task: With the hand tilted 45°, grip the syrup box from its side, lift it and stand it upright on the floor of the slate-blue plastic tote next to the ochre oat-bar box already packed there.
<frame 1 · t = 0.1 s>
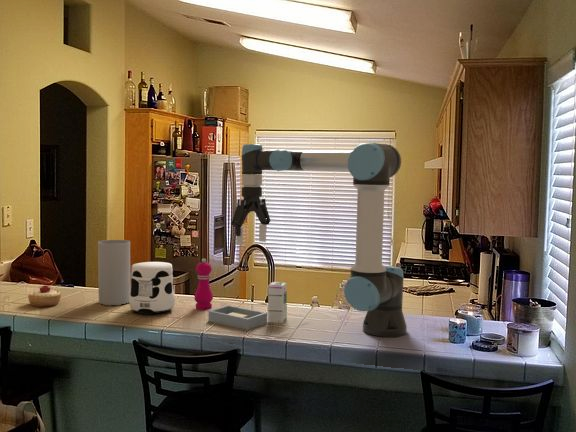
hand: (251, 243, 219), 28 cm above the table, tool pointing down, fingers open, 13 cm apart
pastry: (45, 305, 235), on the table
syrup box: (277, 323, 214), on the table
milk container: (152, 311, 228), on the table
tote: (237, 324, 211), on the table
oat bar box: (236, 321, 211), point 1 cm above the table, touching tote
pepper mill: (203, 308, 233), on the table
cylinder vase: (114, 303, 240), on the table
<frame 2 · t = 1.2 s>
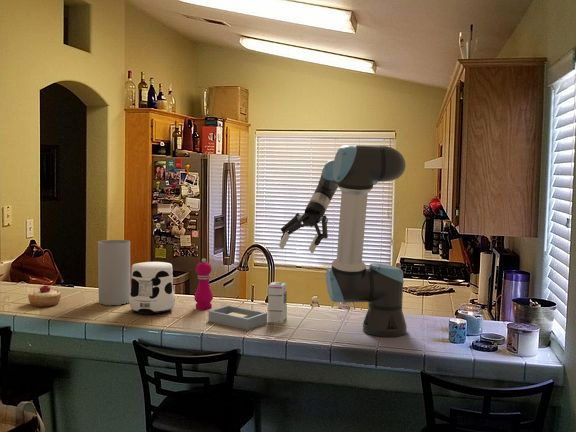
hand: (295, 249, 221), 26 cm above the table, tool tilted 45°, fingers open, 13 cm apart
nothing on the table moved.
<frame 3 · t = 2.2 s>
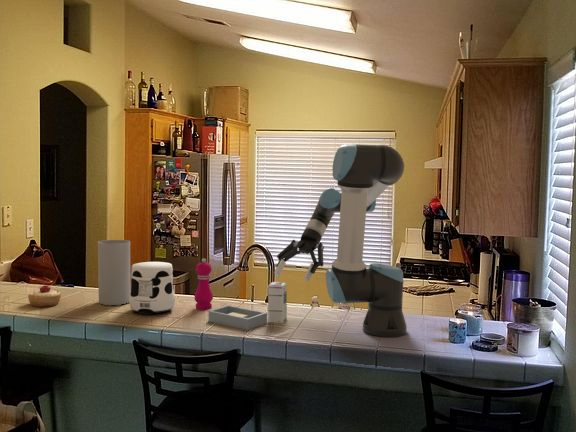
hand: (291, 277, 221), 15 cm above the table, tool tilted 45°, fingers open, 13 cm apart
nothing on the table moved.
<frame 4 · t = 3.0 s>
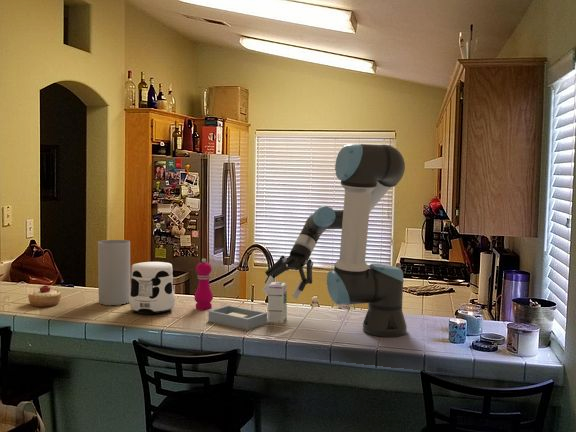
hand: (279, 294, 216), 10 cm above the table, tool tilted 45°, fingers open, 13 cm apart
nothing on the table moved.
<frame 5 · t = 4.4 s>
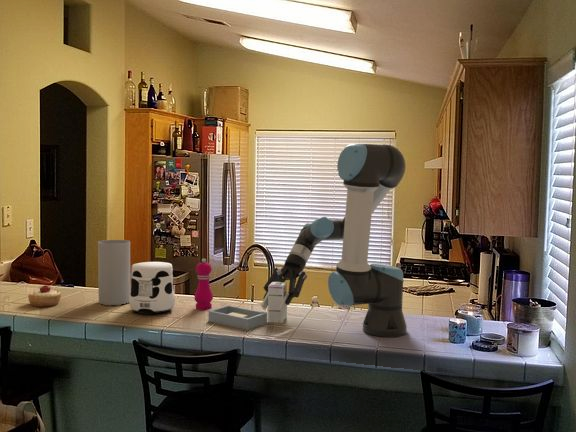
hand: (271, 309, 210), 6 cm above the table, tool tilted 45°, fingers closed on syrup box, 7 cm apart
syrup box: (277, 323, 214), on the table, touching gripper
everything else where it was.
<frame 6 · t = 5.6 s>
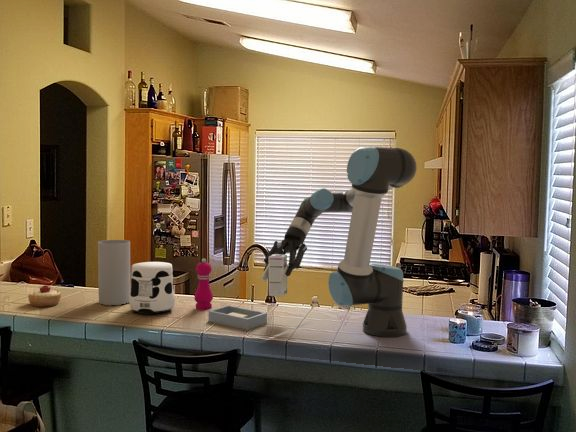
hand: (272, 280, 210), 16 cm above the table, tool tilted 45°, fingers closed on syrup box, 7 cm apart
syrup box: (277, 295, 213), point 10 cm above the table, touching gripper
everything else where it was.
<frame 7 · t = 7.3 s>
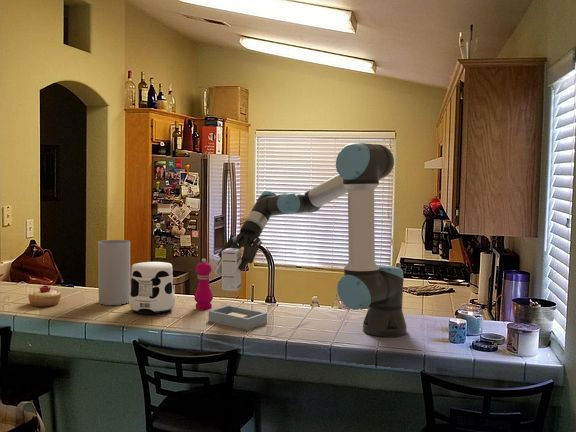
hand: (225, 275, 208), 18 cm above the table, tool tilted 45°, fingers closed on syrup box, 7 cm apart
syrup box: (231, 289, 212), point 12 cm above the table, touching gripper
everything else where it was.
when the fingers open (9 cm above the table, at t = 9.2 s): syrup box stays where it is, resting on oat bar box.
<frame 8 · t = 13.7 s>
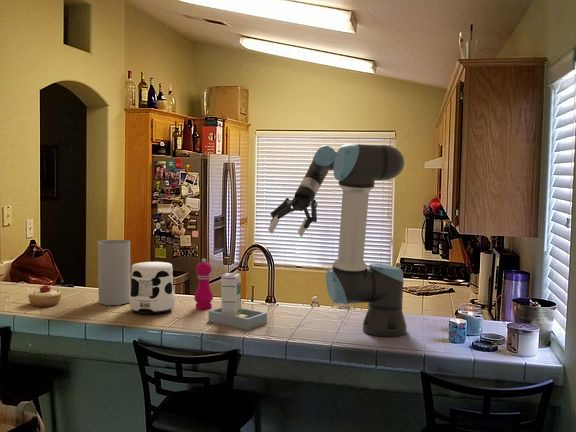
hand: (284, 232, 221), 32 cm above the table, tool tilted 45°, fingers open, 13 cm apart
syrup box: (231, 314, 212), point 3 cm above the table, touching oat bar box
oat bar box: (236, 321, 211), point 1 cm above the table, touching syrup box, tote
everything else where it was.
at the end: syrup box inside the target area on the tote (0.1 cm from its centre), point 3.1 cm above the tote's base; syrup box tilted 0°; the gripper is holding nothing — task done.
